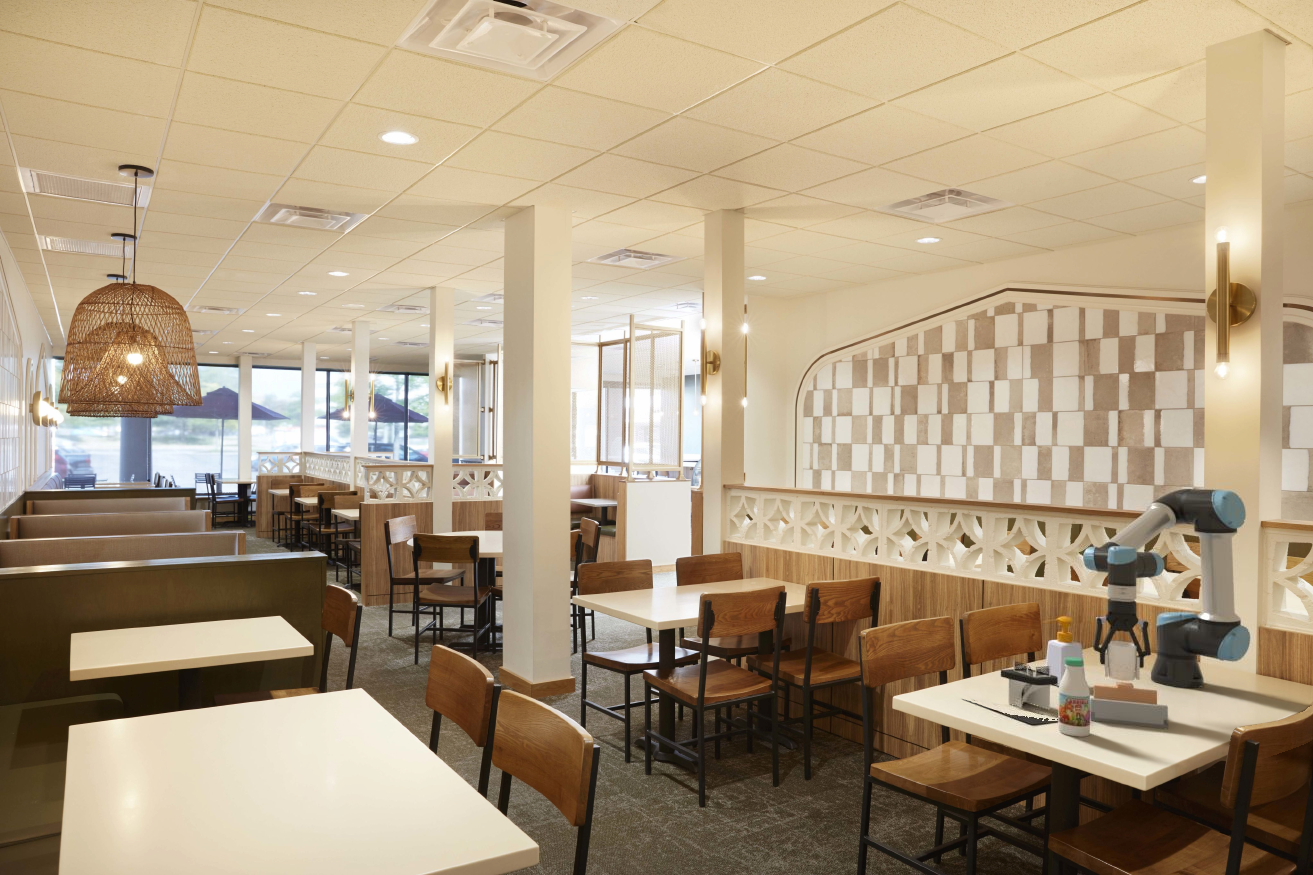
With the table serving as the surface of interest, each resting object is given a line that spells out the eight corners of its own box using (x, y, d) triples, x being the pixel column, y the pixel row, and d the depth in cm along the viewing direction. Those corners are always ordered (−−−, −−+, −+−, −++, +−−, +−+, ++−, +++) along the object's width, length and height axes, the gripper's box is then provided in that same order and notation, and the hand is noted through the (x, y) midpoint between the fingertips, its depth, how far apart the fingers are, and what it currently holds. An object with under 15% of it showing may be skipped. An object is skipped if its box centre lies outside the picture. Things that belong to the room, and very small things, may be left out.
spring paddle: (1155, 714, 249) (1155, 685, 249) (1157, 716, 246) (1157, 687, 246) (1093, 707, 255) (1093, 679, 255) (1094, 710, 252) (1094, 681, 252)
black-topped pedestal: (961, 699, 267) (962, 655, 268) (1026, 693, 277) (1027, 651, 278) (1032, 724, 241) (1032, 676, 242) (1101, 717, 251) (1101, 670, 252)
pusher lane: (1155, 710, 258) (1155, 689, 258) (1167, 728, 240) (1167, 706, 240) (1084, 702, 264) (1084, 682, 265) (1091, 720, 247) (1091, 699, 247)
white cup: (1129, 675, 260) (1129, 641, 260) (1141, 681, 252) (1141, 647, 252) (1101, 673, 261) (1102, 640, 261) (1113, 680, 253) (1113, 646, 253)
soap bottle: (1031, 682, 287) (1031, 615, 288) (1065, 679, 292) (1065, 613, 292) (1053, 690, 278) (1053, 620, 279) (1087, 687, 283) (1087, 618, 283)
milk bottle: (1052, 728, 239) (1052, 655, 239) (1079, 727, 240) (1079, 655, 240) (1068, 737, 231) (1068, 662, 232) (1096, 737, 232) (1096, 661, 232)
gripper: (1084, 598, 257) (1084, 676, 257) (1163, 603, 250) (1163, 683, 249) (1082, 594, 264) (1081, 670, 264) (1159, 599, 257) (1158, 677, 256)
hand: (1121, 676), depth 256 cm, fingers closed on white cup, 7 cm apart
